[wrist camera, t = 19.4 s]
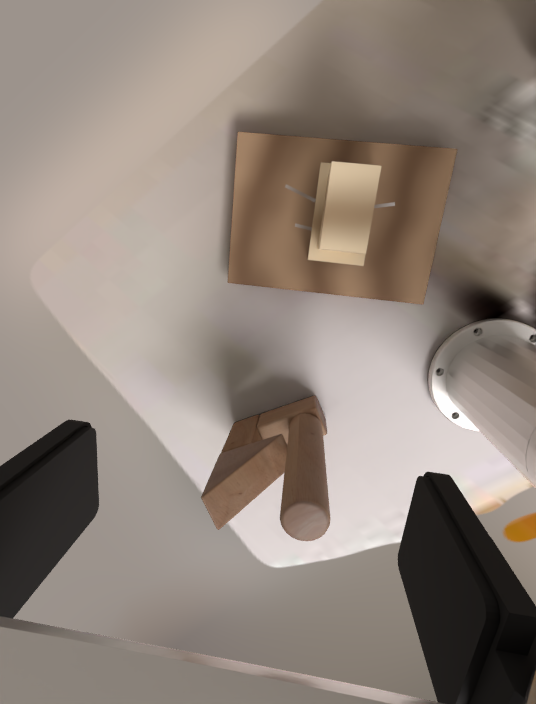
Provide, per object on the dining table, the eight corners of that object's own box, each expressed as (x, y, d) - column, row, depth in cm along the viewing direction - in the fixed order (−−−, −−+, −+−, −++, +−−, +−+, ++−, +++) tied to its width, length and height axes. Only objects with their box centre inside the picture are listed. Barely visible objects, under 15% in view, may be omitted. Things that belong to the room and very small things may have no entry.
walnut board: (448, 154, 34) (457, 148, 32) (417, 301, 37) (423, 304, 35) (241, 138, 35) (237, 131, 33) (231, 281, 39) (227, 282, 37)
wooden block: (233, 421, 43) (184, 531, 26) (315, 393, 41) (321, 493, 24) (244, 446, 44) (205, 570, 27) (326, 420, 42) (340, 535, 25)
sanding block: (319, 172, 33) (323, 144, 25) (373, 177, 33) (395, 151, 25) (307, 259, 35) (307, 260, 27) (357, 264, 35) (373, 268, 27)
